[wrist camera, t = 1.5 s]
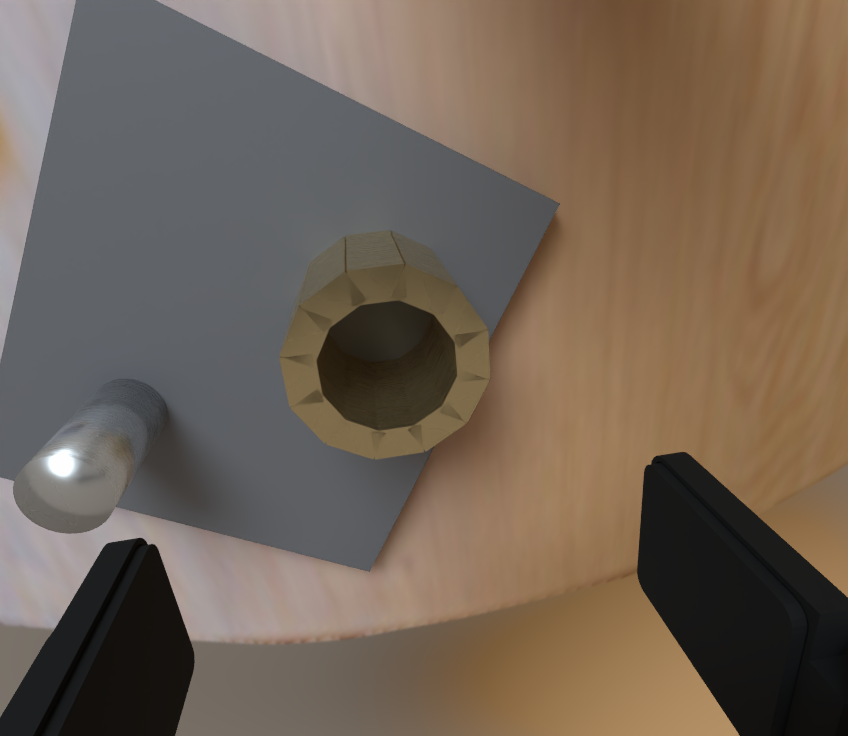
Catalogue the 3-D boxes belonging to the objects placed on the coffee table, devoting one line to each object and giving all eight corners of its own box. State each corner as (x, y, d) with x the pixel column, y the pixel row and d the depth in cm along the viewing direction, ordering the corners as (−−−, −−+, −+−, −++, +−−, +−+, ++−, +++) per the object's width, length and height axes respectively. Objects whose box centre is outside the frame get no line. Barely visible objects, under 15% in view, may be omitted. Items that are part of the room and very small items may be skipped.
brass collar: (332, 204, 21) (327, 230, 16) (482, 270, 23) (524, 314, 18) (275, 353, 23) (253, 421, 18) (417, 403, 25) (436, 479, 20)
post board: (102, -24, 19) (-35, -111, 12) (547, 199, 24) (629, 227, 17) (-3, 452, 25) (-133, 574, 18) (368, 551, 30) (375, 676, 23)
